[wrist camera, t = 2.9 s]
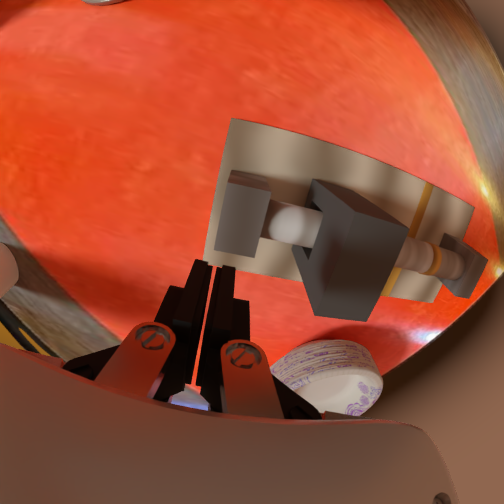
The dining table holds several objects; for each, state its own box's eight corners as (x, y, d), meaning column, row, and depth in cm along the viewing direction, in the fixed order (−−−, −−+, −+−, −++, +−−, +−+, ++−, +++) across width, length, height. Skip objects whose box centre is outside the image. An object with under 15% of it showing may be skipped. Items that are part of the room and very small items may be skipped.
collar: (291, 249, 26) (314, 315, 17) (312, 178, 23) (355, 211, 14) (329, 257, 26) (366, 321, 17) (352, 190, 23) (409, 228, 14)
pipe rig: (203, 258, 28) (192, 297, 21) (231, 118, 22) (226, 113, 15) (428, 298, 31) (454, 330, 25) (469, 205, 25) (506, 225, 19)
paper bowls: (358, 382, 38) (372, 420, 31) (266, 399, 38) (269, 441, 31) (372, 311, 31) (397, 355, 24) (252, 332, 32) (255, 383, 25)
